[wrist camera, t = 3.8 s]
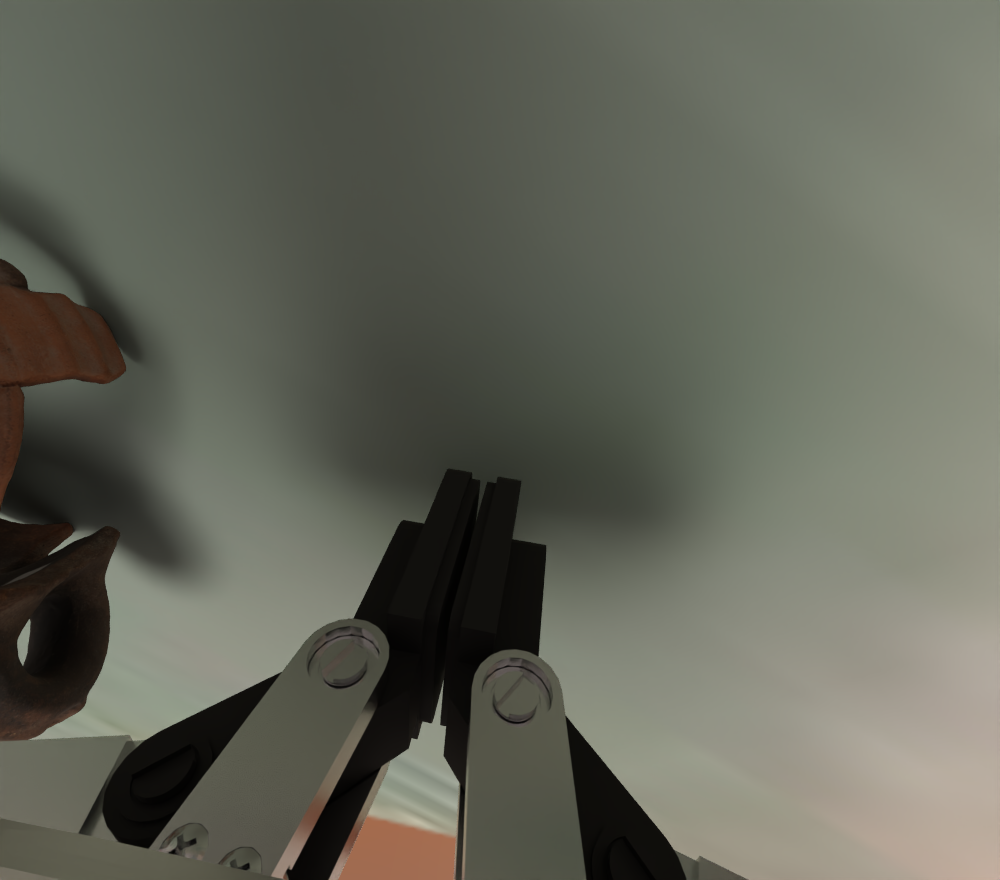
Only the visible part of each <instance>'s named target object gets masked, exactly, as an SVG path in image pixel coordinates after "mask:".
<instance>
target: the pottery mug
mask: <svg viewBox="0 0 1000 880" xmlns="http://www.w3.org/2000/svg"><path fill="white" fill-rule="evenodd" d="M125 371H126V366H125V363H124V360H123V357H122V355H121V352H120V350H119V348H118V345H117V343H116V341H115V339H114V337H113V335H112V332H111V330H110V328H109V327H108V325H107V324H106V322H105V321H104V319H103V317H102V316H101V315H100V314H98V313H97V312H95V311H93V310H91V309H89V308H87V307H84V306H81V305H78V304H76V303H74V302H73V301H71V300H70V299H69V298H68V297H67V296H66V295H64V294H60V293H43V292H33V291H30V290H29V289H28V284H27V280H26V278H25V276H24V275H23V274H22V273H21V272H20V271H19V270H18V269H17V268H15V267H14V266H13V265H11V264H10V263H8V262H7V261H5V260H2V259H0V510H1V504H2V501H3V497H4V495H5V491H6V488H7V485H8V482H9V481H10V480H11V478H12V475H13V471H14V467H15V465H16V462H17V459H18V456H19V451H20V446H21V442H22V434H23V427H24V394H23V392H22V390H21V387H26V386H33V385H38V384H44V383H51V382H56V381H61V380H67V379H77V380H81V381H86V382H93V383H99V384H106V383H109V382H111V381H113V380H115V379H117V378H118V377H120V376H121V375H122V374H123V373H124V372H125ZM72 533H73V527H72V525H71V524H69V523H59V524H47V525H37V524H20V523H16V522H10V521H7V520H4V519H1V518H0V741H20V740H29V739H31V738H34V737H37V736H38V735H40V734H42V733H43V732H44V731H45V730H46V729H47V728H49V727H51V726H53V725H55V724H57V723H60V722H62V721H64V720H65V719H67V718H68V717H70V716H72V715H74V714H76V713H78V712H79V711H80V710H81V709H82V708H83V707H84V706H85V704H86V699H87V695H88V693H89V691H90V689H91V688H92V686H93V685H94V683H95V681H96V680H97V678H98V676H99V674H100V672H101V669H102V666H103V663H104V660H105V657H106V654H107V649H108V643H109V633H110V607H109V600H108V596H107V590H106V586H105V574H106V570H107V567H108V564H109V561H110V559H111V556H112V554H113V552H114V549H115V547H116V544H117V541H118V539H119V536H120V532H119V531H118V530H117V529H115V528H113V527H110V526H105V527H103V528H102V529H100V530H99V531H97V532H96V533H94V534H92V535H90V536H88V537H84V538H82V539H79V540H77V541H74V542H72V543H71V544H69V545H67V546H66V547H64V548H62V549H61V550H59V551H57V552H55V553H53V554H51V555H49V556H48V554H49V553H50V552H51V551H52V550H53V549H55V548H56V547H57V546H59V545H60V544H61V543H62V542H63V541H64V540H66V539H67V538H68V537H70V536H71V535H72ZM29 619H30V621H31V625H30V637H29V644H28V653H27V656H26V659H25V662H24V665H23V666H22V664H21V662H20V660H19V657H18V649H17V640H18V637H19V635H20V633H21V631H22V629H23V628H24V626H25V625H26V623H27V621H28V620H29Z"/></svg>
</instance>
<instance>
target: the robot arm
mask: <svg viewBox="0 0 1000 880" xmlns="http://www.w3.org/2000/svg"><path fill="white" fill-rule="evenodd" d="M520 487H521V481H520V480H514V479H508V478H502V477H498V478H497V482H496V483H493V482H487V484H486V488H485V491H484V495H483V499H482V502H481V506H480V510H479V513H478V517H477V508H478V499H479V490H480V480H475V479H472V472H466V471H460V470H454V469H447V471H446V473H445V475H444V478H443V480H442V483H441V485H440V487H439V490H438V492H437V495H436V497H435V499H434V502H433V504H432V507H431V509H430V512H429V514H428V516H427V519H426V521H425V524H423V523H417V522H412V521H406V520H403V521H401V522H400V524H399V526H398V528H397V530H396V532H395V534H394V536H393V538H392V540H391V542H390V544H389V546H388V548H387V550H386V552H385V554H384V556H383V559H382V561H381V563H380V565H379V567H378V569H377V571H376V573H375V575H374V577H373V579H372V581H371V583H370V585H369V587H368V589H367V592H366V594H365V596H364V598H363V600H362V602H361V604H360V606H359V608H358V610H357V612H356V614H355V616H354V618H353V619H343V620H338V621H335V622H332V623H329V624H327V625H325V626H323V627H322V628H320V629H318V630H317V631H315V632H314V633H313V634H312V635H311V636H310V637H309V638H308V639H307V640H306V641H305V642H304V643H303V645H302V646H301V647H300V649H299V650H298V651H297V653H296V654H295V655H294V657H293V658H292V659H291V661H290V662H289V663H288V665H287V666H286V667H285V669H284V670H283V671H282V672H281V673H278V674H276V675H274V676H272V677H270V678H268V679H266V680H264V681H262V682H260V683H258V684H256V685H254V686H252V687H250V688H248V689H246V690H244V691H242V692H240V693H238V694H235V695H233V696H231V697H229V698H227V699H225V700H223V701H221V702H219V703H217V704H215V705H213V706H211V707H209V708H207V709H205V710H203V711H201V712H199V713H197V714H195V715H192V716H190V717H188V718H186V719H184V720H182V721H180V722H178V723H176V724H174V725H172V726H170V727H168V728H166V729H164V730H162V731H160V732H158V733H157V734H155V735H153V736H152V737H150V738H148V739H147V740H141V741H133V740H132V739H131V737H130V735H120V736H100V737H80V738H60V739H40V740H20V741H0V880H338V878H339V876H340V874H341V872H342V870H343V867H344V865H345V863H346V861H347V859H348V856H349V854H350V852H351V850H352V848H353V845H354V843H355V841H356V839H357V837H358V834H359V832H360V830H361V828H362V826H363V823H364V821H365V819H366V817H367V815H368V812H369V810H370V808H371V806H372V804H373V801H374V799H375V797H376V795H377V793H378V790H379V788H380V786H381V784H382V782H383V779H384V777H385V775H386V773H387V770H388V767H389V764H390V761H391V760H392V759H394V758H395V757H397V756H398V755H399V754H401V753H402V752H404V751H405V750H407V749H408V748H409V745H410V742H411V738H414V739H418V735H419V732H420V728H421V724H422V721H423V722H428V723H432V722H433V719H434V715H435V711H436V707H437V703H438V699H439V695H440V692H441V688H442V684H443V680H444V685H443V697H442V710H441V723H440V725H442V726H446V735H445V746H444V757H445V759H446V761H447V762H448V764H449V766H450V767H451V769H452V771H453V773H454V774H455V776H456V778H457V779H458V781H459V791H458V810H457V828H456V848H455V866H454V867H455V868H454V880H748V879H746V878H744V877H742V876H739V875H737V874H735V873H733V872H731V871H729V870H727V869H725V868H723V867H721V866H719V865H717V864H715V863H713V862H711V861H709V860H707V859H705V858H703V857H701V856H699V857H698V859H697V860H696V861H695V860H693V859H691V858H689V857H687V856H685V855H683V854H681V853H679V852H677V851H675V850H674V849H673V848H672V846H671V845H670V843H669V842H668V840H667V839H666V837H665V836H664V835H663V834H662V833H661V831H660V830H659V829H658V828H657V826H656V825H655V824H654V823H653V822H652V820H651V819H650V818H649V817H648V815H647V814H646V813H645V812H644V811H643V809H642V808H641V807H640V806H639V804H638V803H637V802H636V801H635V800H634V798H633V797H632V796H631V795H630V794H629V792H628V791H627V790H626V789H625V787H624V786H623V785H622V784H621V783H620V781H619V780H618V779H617V778H616V776H615V775H614V774H613V773H612V772H611V770H610V769H609V768H608V767H607V765H606V764H605V763H604V762H603V761H602V759H601V758H600V757H599V756H598V755H597V753H596V752H595V751H594V750H593V748H592V747H591V746H590V745H589V744H588V742H587V741H586V740H585V739H584V737H583V736H582V735H581V734H580V733H579V731H578V730H577V729H576V728H575V726H574V725H573V724H572V723H571V722H570V720H569V719H568V718H567V717H566V716H565V709H564V701H563V694H562V689H561V686H560V682H559V679H558V677H557V676H556V674H555V673H554V671H553V670H552V668H551V667H550V666H549V665H548V664H547V663H546V662H545V661H544V660H542V659H541V658H540V657H538V656H539V642H540V629H541V616H542V602H543V589H544V575H545V562H546V545H542V544H536V543H531V542H525V541H519V540H514V539H512V537H513V530H514V524H515V518H516V512H517V506H518V500H519V493H520ZM476 517H477V521H476Z"/></svg>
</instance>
